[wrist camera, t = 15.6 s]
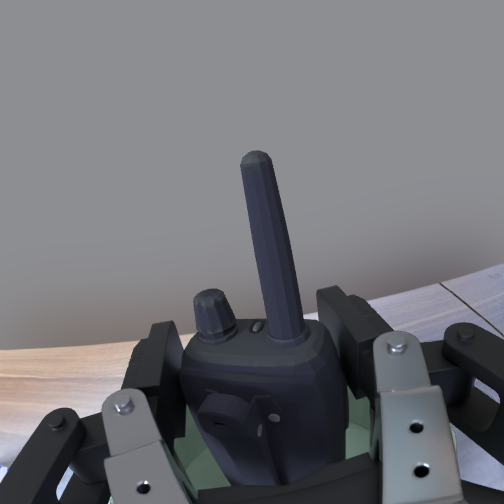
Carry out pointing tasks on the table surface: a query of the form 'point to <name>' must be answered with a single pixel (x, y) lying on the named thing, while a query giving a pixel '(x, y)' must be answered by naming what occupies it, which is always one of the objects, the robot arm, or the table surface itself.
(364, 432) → the pot
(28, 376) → the table surface
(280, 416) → the two-way radio
